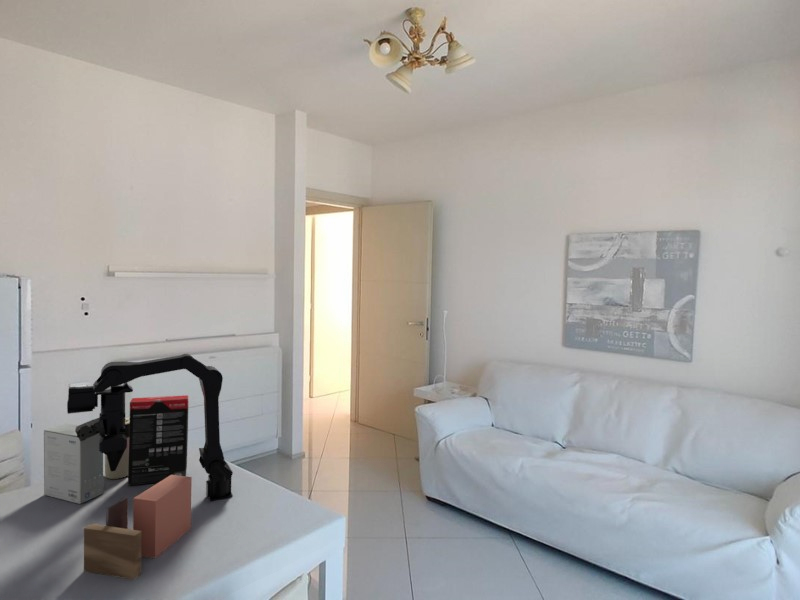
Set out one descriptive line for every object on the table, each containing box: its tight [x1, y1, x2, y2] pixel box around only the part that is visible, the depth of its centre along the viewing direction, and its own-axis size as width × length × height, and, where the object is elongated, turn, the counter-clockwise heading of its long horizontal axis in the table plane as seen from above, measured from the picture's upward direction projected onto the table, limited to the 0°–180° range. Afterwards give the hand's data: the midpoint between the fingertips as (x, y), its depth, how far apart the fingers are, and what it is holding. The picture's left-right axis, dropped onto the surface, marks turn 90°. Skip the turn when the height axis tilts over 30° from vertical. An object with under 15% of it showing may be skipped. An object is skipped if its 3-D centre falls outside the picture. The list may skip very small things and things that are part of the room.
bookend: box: [105, 496, 129, 529], centre depth 113 cm, size 6×5×14 cm
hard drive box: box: [43, 423, 104, 505], centre depth 144 cm, size 16×8×20 cm, turn 71°
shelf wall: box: [83, 523, 142, 580], centre depth 108 cm, size 2×13×10 cm, turn 80°
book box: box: [132, 475, 193, 559], centre depth 121 cm, size 14×6×14 cm, turn 170°
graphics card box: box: [127, 394, 189, 486], centre depth 156 cm, size 17×7×27 cm, turn 114°
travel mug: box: [104, 417, 130, 480], centre depth 159 cm, size 8×8×18 cm
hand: (112, 464), depth 132 cm, fingers open, 9 cm apart
